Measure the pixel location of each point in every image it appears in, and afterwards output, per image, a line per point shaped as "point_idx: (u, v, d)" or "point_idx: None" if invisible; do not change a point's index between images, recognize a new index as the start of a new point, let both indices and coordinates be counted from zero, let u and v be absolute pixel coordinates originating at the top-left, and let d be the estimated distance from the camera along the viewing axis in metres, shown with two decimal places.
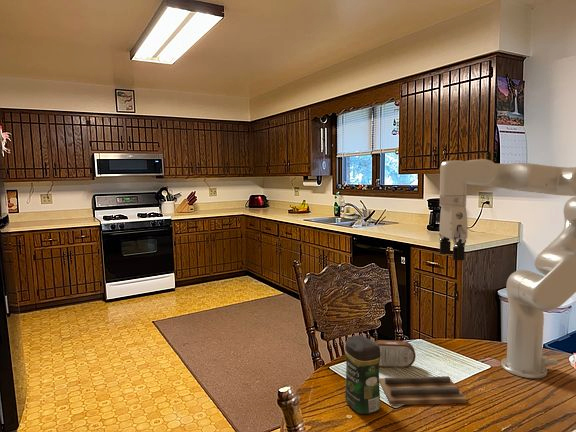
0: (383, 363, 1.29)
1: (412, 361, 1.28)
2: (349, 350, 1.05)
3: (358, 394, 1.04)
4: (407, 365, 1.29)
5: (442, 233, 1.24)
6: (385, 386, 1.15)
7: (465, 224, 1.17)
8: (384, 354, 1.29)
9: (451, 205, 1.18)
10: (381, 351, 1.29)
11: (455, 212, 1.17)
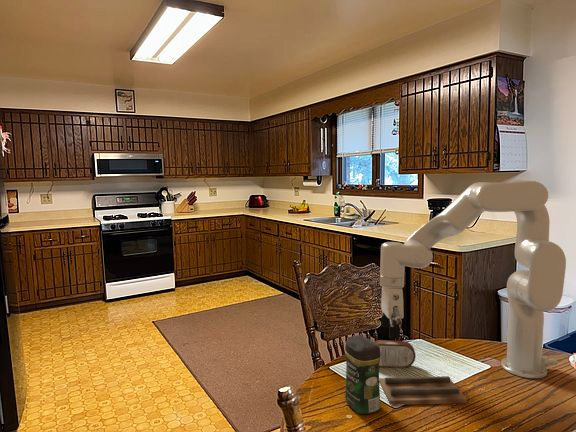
0: (383, 363, 1.29)
1: (412, 361, 1.28)
2: (349, 350, 1.05)
3: (357, 394, 1.04)
4: (407, 365, 1.29)
5: (382, 309, 1.30)
6: (385, 386, 1.15)
7: (401, 305, 1.23)
8: (384, 354, 1.29)
9: (389, 286, 1.24)
10: (381, 351, 1.29)
11: (392, 294, 1.23)
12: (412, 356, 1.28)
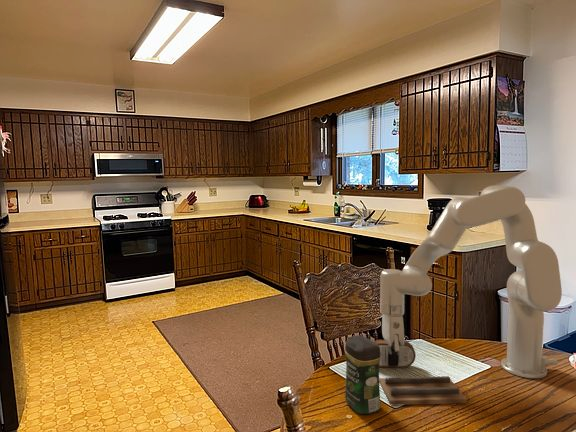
0: (383, 363, 1.29)
1: (412, 360, 1.28)
2: (349, 350, 1.05)
3: (357, 394, 1.04)
4: (407, 365, 1.28)
5: (383, 335, 1.31)
6: (385, 386, 1.15)
7: (401, 333, 1.24)
8: (384, 354, 1.29)
9: (389, 314, 1.25)
10: (381, 351, 1.29)
11: (392, 322, 1.24)
12: (412, 355, 1.28)
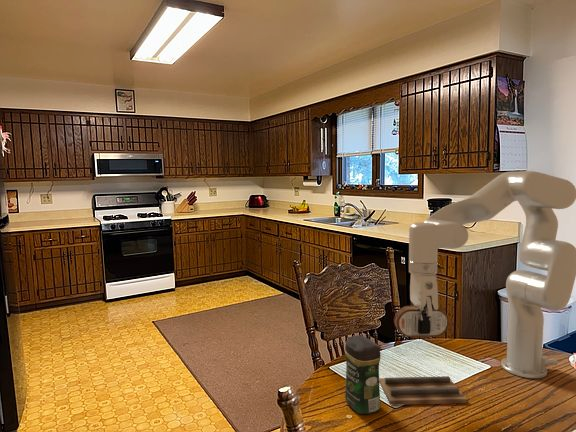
0: (412, 332, 1.11)
1: (446, 328, 1.11)
2: (349, 350, 1.05)
3: (357, 394, 1.04)
4: (440, 333, 1.11)
5: (412, 300, 1.14)
6: (385, 386, 1.15)
7: (435, 295, 1.06)
8: (414, 321, 1.11)
9: (420, 273, 1.07)
10: (411, 318, 1.11)
11: (424, 281, 1.06)
12: (445, 322, 1.11)
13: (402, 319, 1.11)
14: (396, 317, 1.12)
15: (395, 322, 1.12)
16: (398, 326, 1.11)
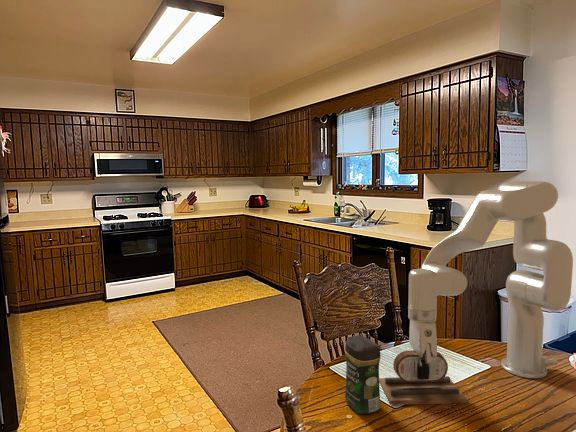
0: (412, 377, 1.13)
1: (445, 373, 1.12)
2: (349, 350, 1.05)
3: (357, 394, 1.04)
4: (439, 378, 1.13)
5: (411, 344, 1.15)
6: (385, 386, 1.15)
7: (434, 342, 1.08)
8: (413, 367, 1.12)
9: (419, 320, 1.09)
10: (410, 363, 1.12)
11: (423, 329, 1.08)
12: (444, 368, 1.12)
13: (401, 364, 1.12)
14: (395, 362, 1.13)
15: (394, 367, 1.14)
16: (397, 371, 1.12)
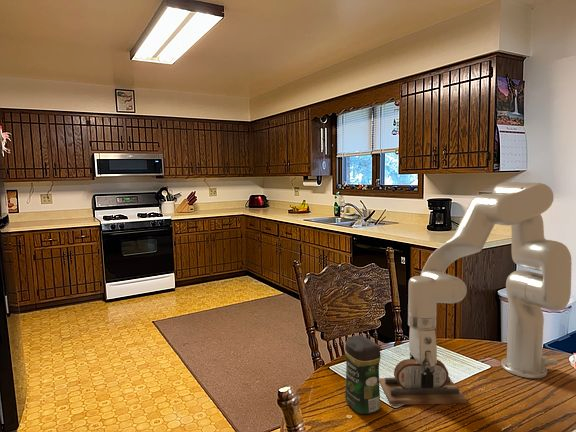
0: (412, 386, 1.13)
1: (445, 381, 1.13)
2: (349, 350, 1.05)
3: (357, 394, 1.04)
4: (439, 386, 1.13)
5: (411, 351, 1.15)
6: (385, 386, 1.15)
7: (434, 350, 1.08)
8: (414, 375, 1.12)
9: (419, 328, 1.09)
10: (410, 372, 1.12)
11: (423, 337, 1.08)
12: (445, 376, 1.13)
13: (402, 373, 1.12)
14: (396, 370, 1.13)
15: (395, 375, 1.14)
16: (398, 380, 1.12)
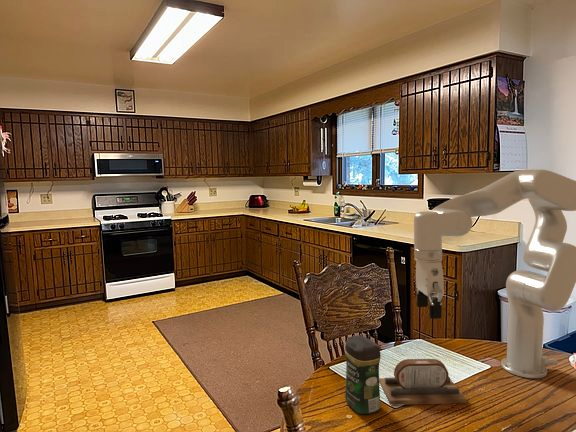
0: (412, 386, 1.13)
1: (445, 381, 1.13)
2: (349, 350, 1.05)
3: (358, 394, 1.04)
4: (439, 386, 1.13)
5: (418, 287, 1.17)
6: (385, 386, 1.15)
7: (441, 280, 1.10)
8: (414, 375, 1.12)
9: (426, 260, 1.11)
10: (410, 372, 1.12)
11: (430, 268, 1.10)
12: (445, 376, 1.13)
13: (402, 373, 1.12)
14: (396, 370, 1.13)
15: (395, 375, 1.14)
16: (398, 380, 1.12)
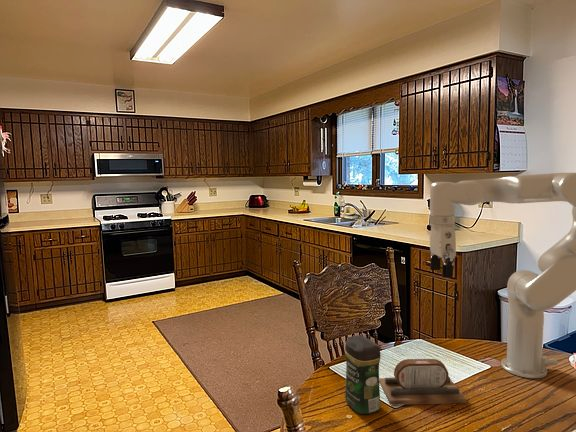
0: (412, 386, 1.13)
1: (445, 381, 1.13)
2: (349, 350, 1.05)
3: (357, 394, 1.04)
4: (439, 386, 1.13)
5: (432, 251, 1.30)
6: (385, 386, 1.15)
7: (453, 243, 1.22)
8: (414, 375, 1.12)
9: (440, 225, 1.23)
10: (410, 372, 1.12)
11: (444, 231, 1.22)
12: (445, 376, 1.13)
13: (402, 373, 1.12)
14: (396, 370, 1.13)
15: (395, 375, 1.14)
16: (398, 380, 1.12)
